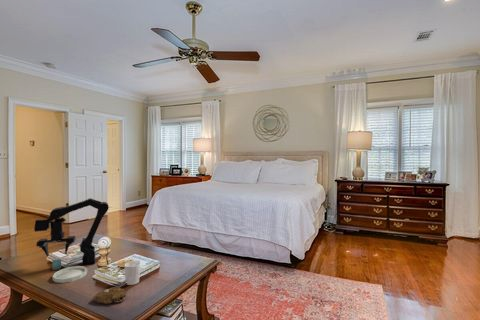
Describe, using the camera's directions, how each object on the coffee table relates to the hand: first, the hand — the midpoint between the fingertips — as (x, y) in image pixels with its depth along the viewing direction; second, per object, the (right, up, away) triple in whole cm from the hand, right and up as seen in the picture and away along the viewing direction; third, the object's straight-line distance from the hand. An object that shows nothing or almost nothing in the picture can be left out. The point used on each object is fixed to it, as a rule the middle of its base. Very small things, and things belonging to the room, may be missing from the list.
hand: (56, 255), depth 157 cm
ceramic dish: (+14, -8, -9) cm, 19 cm away
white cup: (+52, -9, -16) cm, 55 cm away
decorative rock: (+49, -10, -32) cm, 59 cm away
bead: (0, -8, 0) cm, 8 cm away
